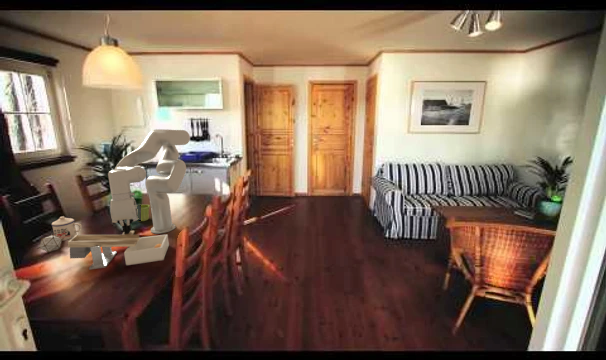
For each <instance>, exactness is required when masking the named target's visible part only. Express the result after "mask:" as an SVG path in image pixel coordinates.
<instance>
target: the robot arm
mask: <svg viewBox="0 0 606 360" xmlns="http://www.w3.org/2000/svg"><path fill="white" fill-rule="evenodd" d="M190 139H191V136H190V133H189V132H188V131H187V130H185V129H184V130H183V129H160V128H159V129H157V128H156V129H152V130H151V131H150V132H149V133H148V134H147V136H146V137H145V139H144V140H143V142H142V143H141V144H140V146H138V148H137V149H134V150H133V151H131V152H130V153H128V154H126V155H125V156H124V157H123V158H121V159H120V160H119V162H117V164H116V166H115V168H114V169H112V170H110V171H108V173H107V176H108V182H109V188H110V193H111V199H110V206H109V207H110V208H109V209H110V217H111V223H114V224H115V223H117V224H118V225H120V226H121V227H122V233H123V232H124V234H126V233H127V234H129V232H130V231H132V226H131V224H132V223H133V222H136V221H137V220H138V219H139V218H138V216H137V215H138V209H137V206H138V205H137V202H136V200H135V197H134V196H136V195H135V192H132V191H131V185H130V184H135V183H140V182H143V181H144V180H145V179H146V180H145V188H146V191H147V195H148V198H149V205H150V210H151V211H150V212H151V218H152V219H151V220H152V227H151V228H150V232H151V233H152V234H156V235H157V234H160V235H161V234H166V233H169V232H171V231H173V230H175V229H176V224H174V223H173V219H172V212H171V211H172V210H171V203H170V198H169V195H168V194H175V193H177V192H178V191H179V189H180V187H181V185H182V183H183V180H184V178H185V176H186V173H187V165H186V163H185V161H183V160H181V159H179V155H180V153H179V151H178V149H177V147H176V146H185V145H187V144H189V142H190ZM161 149H162V154H161V156H160V158H159V160H158V162H157V165H156V167H155V171H156V173H157V174H155V175H150V176H148V177H147V171H146V170H145V169H144V168H142V167H140V166H137V165H139V164H141V163H144V162H148V161H151V160H153V159H155V157H156V156H157V155H158V153H159V152H160V150H161ZM146 177H147V178H146ZM125 220H126V221H125Z"/></svg>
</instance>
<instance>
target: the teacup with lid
mask: <svg viewBox="0 0 606 360" xmlns="http://www.w3.org/2000/svg"><path fill="white" fill-rule="evenodd" d="M76 226H78V227H79V229H78V230H77V229H76ZM51 227H52V231H53V235H54V236H56V237H58V238H60V239H63V238H64V239H63V240H62V241H67V240H68V241H69V240H71V239H72V238H73V237H74V236H76V235H78V233H79V232H81V230H82V229H83V228H82V224H81V223H77V222H76V223H75V219H74V218H71V217H70V218H68V217H65V216H60V217H59V218H58V219H57V220H55V221H52V223H51ZM62 241H61V242H62Z"/></svg>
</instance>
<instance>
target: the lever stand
mask: <svg viewBox="0 0 606 360" xmlns="http://www.w3.org/2000/svg"><path fill="white" fill-rule="evenodd" d="M90 249H91V252H90V253H91V258H92V264H91V265H90V266H89V267H88V269H89V270H90V271H91V270H96V269H105V268H107V267H108V265H109V264H110V263H111V261H112V260H113V258H114V257H115V256H116V255H117V251H116V250H115V251H113V250H112V247H100V245H98V246H91V248H90Z"/></svg>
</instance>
